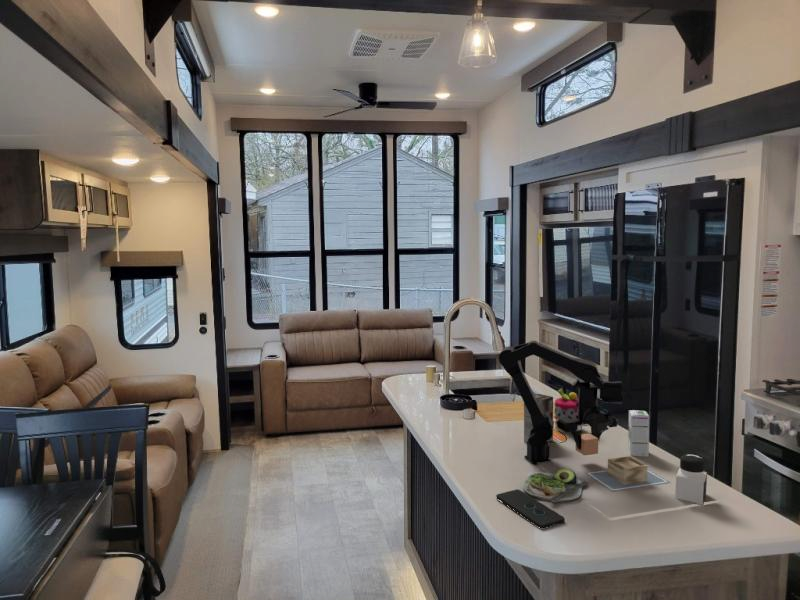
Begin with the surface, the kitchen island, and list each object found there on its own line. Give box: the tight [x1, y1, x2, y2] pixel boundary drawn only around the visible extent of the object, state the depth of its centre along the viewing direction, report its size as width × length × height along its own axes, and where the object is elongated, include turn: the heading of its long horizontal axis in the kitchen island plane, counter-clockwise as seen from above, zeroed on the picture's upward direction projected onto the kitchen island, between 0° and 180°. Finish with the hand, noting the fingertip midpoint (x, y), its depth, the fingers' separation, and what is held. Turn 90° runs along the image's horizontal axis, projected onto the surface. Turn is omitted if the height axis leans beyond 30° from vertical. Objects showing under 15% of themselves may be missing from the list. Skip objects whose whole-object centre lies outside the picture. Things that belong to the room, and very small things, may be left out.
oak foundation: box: [607, 455, 649, 485], centre depth 181 cm, size 8×8×5 cm
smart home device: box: [495, 489, 566, 529], centre depth 163 cm, size 8×2×20 cm
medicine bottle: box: [674, 454, 708, 506], centre depth 167 cm, size 7×7×12 cm
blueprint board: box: [584, 469, 672, 493], centre depth 181 cm, size 20×14×1 cm
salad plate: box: [522, 468, 589, 503], centre depth 174 cm, size 19×18×5 cm
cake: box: [553, 388, 583, 434], centre depth 226 cm, size 10×11×15 cm
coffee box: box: [523, 393, 554, 443], centre depth 214 cm, size 9×6×16 cm
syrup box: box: [627, 409, 650, 458], centre depth 200 cm, size 6×6×14 cm
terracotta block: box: [575, 432, 599, 456], centre depth 192 cm, size 5×5×5 cm
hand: (586, 448), depth 192 cm, fingers closed on terracotta block, 5 cm apart
